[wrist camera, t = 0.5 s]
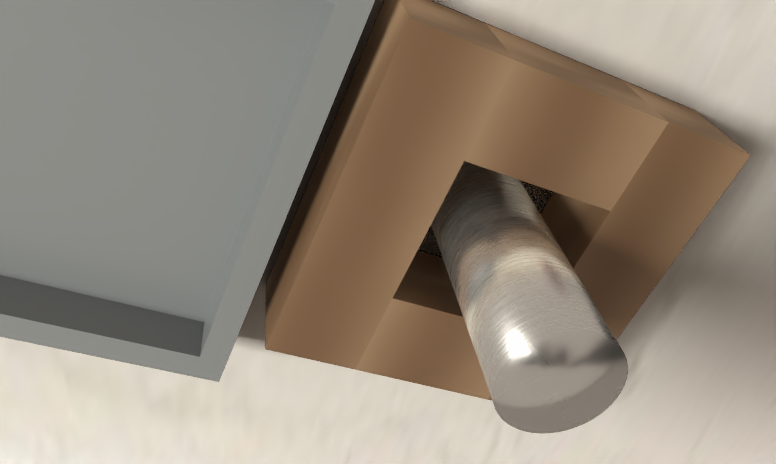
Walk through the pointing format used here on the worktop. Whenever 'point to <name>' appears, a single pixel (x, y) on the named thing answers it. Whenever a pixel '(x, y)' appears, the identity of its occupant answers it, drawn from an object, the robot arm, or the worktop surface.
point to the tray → (155, 165)
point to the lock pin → (525, 307)
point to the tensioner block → (491, 151)
